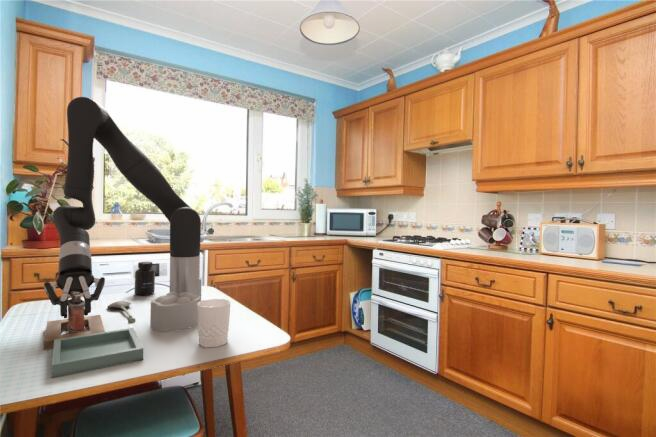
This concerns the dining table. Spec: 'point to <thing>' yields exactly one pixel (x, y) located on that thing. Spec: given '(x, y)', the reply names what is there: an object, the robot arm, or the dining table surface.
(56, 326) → the holder
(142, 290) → the supplement bottle
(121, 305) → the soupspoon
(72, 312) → the lighter
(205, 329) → the white cup
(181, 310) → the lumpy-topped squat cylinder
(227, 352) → the dining table surface
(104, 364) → the tray
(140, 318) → the dining table surface
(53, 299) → the robot arm
